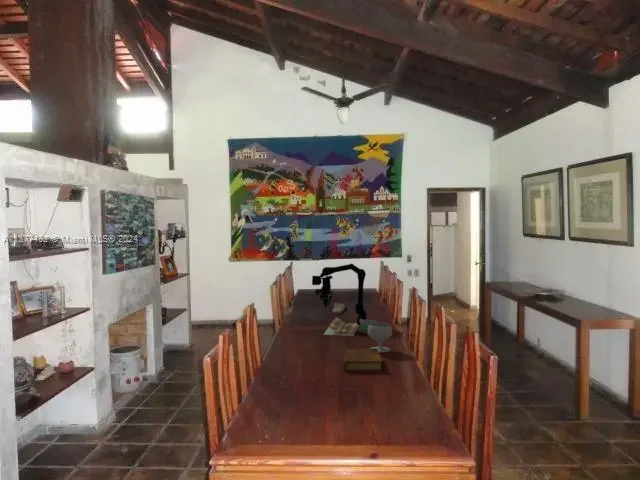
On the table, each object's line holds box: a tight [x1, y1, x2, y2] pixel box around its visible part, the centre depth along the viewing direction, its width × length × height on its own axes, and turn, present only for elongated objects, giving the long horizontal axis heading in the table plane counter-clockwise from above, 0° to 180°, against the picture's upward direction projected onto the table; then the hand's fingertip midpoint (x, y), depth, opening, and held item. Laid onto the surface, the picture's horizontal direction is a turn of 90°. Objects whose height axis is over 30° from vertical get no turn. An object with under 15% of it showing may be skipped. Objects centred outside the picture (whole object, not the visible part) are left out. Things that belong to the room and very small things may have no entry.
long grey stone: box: [331, 302, 346, 315], centre depth 394 cm, size 35×5×10 cm
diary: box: [342, 348, 383, 372], centre depth 247 cm, size 23×19×6 cm
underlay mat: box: [323, 324, 360, 337], centre depth 323 cm, size 20×30×1 cm, turn 169°
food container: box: [359, 318, 378, 336], centre depth 311 cm, size 12×6×10 cm, turn 62°
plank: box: [328, 316, 347, 333], centre depth 324 cm, size 8×24×2 cm
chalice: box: [368, 321, 393, 354], centre depth 272 cm, size 14×14×15 cm
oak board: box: [341, 322, 358, 334], centre depth 322 cm, size 7×24×2 cm, turn 169°
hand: (327, 306), depth 341 cm, fingers open, 9 cm apart
